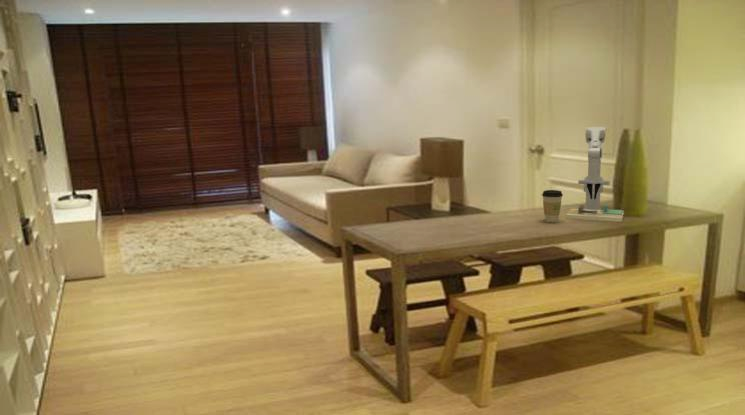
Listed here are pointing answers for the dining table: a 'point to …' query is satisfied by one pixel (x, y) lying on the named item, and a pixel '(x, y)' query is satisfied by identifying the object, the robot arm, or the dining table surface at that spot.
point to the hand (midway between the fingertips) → (593, 198)
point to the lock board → (594, 216)
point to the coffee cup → (552, 205)
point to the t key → (583, 210)
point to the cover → (611, 211)
